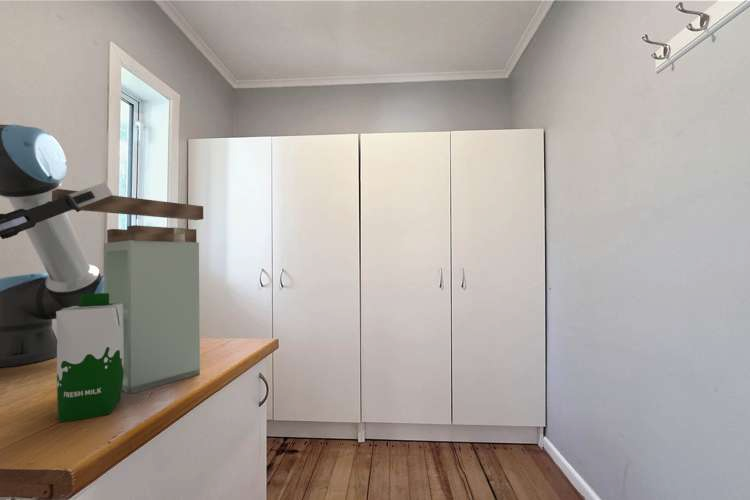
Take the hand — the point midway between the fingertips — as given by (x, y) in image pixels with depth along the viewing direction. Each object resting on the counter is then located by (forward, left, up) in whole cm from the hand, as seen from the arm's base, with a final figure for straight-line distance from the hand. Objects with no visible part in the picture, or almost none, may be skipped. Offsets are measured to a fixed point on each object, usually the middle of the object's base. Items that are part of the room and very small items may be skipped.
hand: (103, 190), depth 73 cm
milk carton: (+9, +7, -41) cm, 42 cm away
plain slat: (-6, +3, -4) cm, 8 cm away
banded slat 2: (-6, +9, -10) cm, 15 cm away
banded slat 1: (-11, -1, -10) cm, 15 cm away
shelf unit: (-9, +4, -40) cm, 42 cm away
